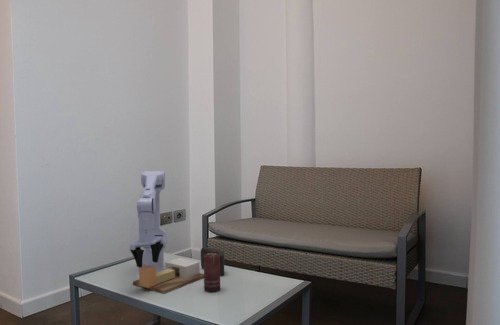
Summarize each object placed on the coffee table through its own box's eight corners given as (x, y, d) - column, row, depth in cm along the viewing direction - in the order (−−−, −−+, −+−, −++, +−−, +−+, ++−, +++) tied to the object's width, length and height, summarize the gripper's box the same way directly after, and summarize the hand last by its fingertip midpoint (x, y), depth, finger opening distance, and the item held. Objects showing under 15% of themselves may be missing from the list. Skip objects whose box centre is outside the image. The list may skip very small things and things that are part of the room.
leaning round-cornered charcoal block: (230, 274, 173) (229, 252, 173) (221, 276, 170) (221, 254, 170) (208, 266, 186) (208, 245, 185) (200, 268, 183) (199, 247, 182)
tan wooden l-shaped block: (139, 285, 156) (139, 267, 156) (167, 275, 168) (167, 258, 167) (148, 287, 153) (147, 269, 153) (175, 277, 165) (175, 260, 164)
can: (208, 293, 151) (207, 256, 150) (201, 288, 156) (201, 252, 156) (223, 290, 153) (222, 254, 153) (216, 285, 159) (216, 250, 158)
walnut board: (132, 284, 161) (132, 281, 161) (175, 269, 180) (175, 267, 180) (163, 293, 151) (163, 290, 151) (205, 277, 170) (205, 274, 169)
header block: (165, 273, 171) (165, 262, 171) (179, 268, 178) (179, 257, 178) (186, 278, 164) (185, 266, 164) (199, 273, 171) (199, 262, 171)
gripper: (138, 234, 147) (138, 271, 148) (168, 227, 159) (168, 261, 159) (125, 231, 151) (126, 267, 152) (156, 225, 163) (156, 258, 164)
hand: (147, 264), depth 156 cm, fingers open, 7 cm apart
